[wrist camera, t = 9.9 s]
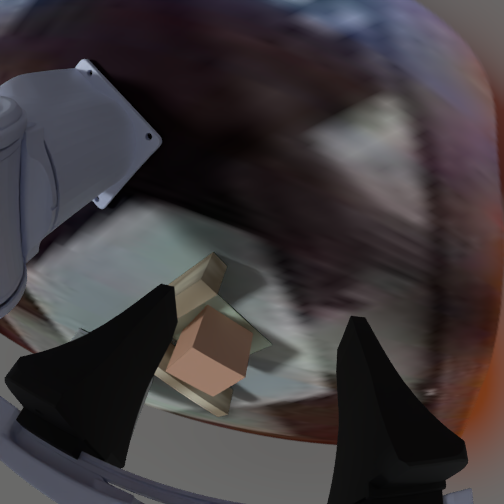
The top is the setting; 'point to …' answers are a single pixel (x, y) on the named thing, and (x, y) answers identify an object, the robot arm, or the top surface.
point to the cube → (211, 352)
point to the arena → (188, 307)
